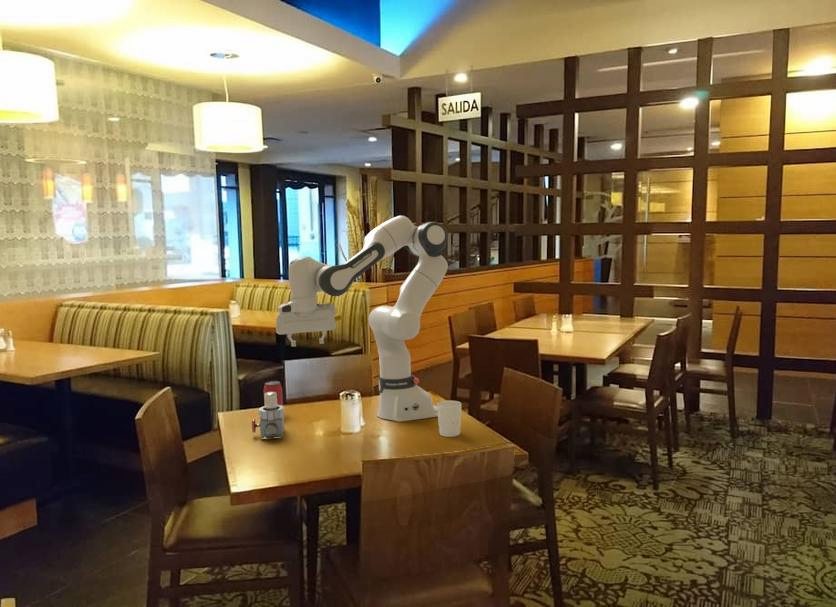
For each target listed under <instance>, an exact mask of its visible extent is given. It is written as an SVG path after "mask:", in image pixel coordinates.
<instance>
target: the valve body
mask: <svg viewBox="0 0 836 607" xmlns="http://www.w3.org/2000/svg"><path fill="white" fill-rule="evenodd" d="M284 407H285V406H284V405H283V406H281V405H277V408H278V409H277V410H270V411H267V410H265V405H264V406H261V407H259V409H258V418H259V420H260V421H259V423H257V422H256V418H252V419H251V429H252V430H251V431H252V433H256V432H257V428H259V429H260V430H259V432H260V439H261V438H264V437H266V438H274V437H283V438H284V435H283V432H285V420H284V419H285V408H284Z"/></svg>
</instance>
